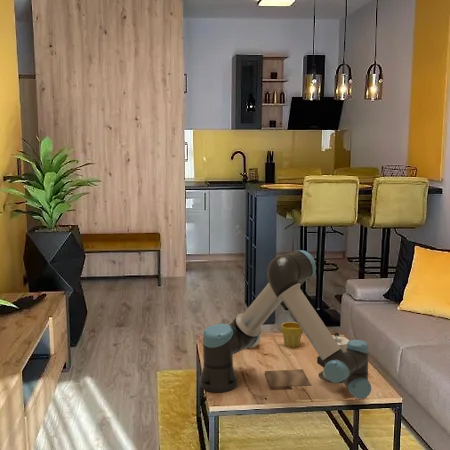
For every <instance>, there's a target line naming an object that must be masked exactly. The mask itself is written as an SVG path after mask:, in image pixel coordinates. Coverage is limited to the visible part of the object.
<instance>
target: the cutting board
mask: <svg viewBox="0 0 450 450" xmlns="http://www.w3.org/2000/svg"><path fill="white" fill-rule="evenodd" d="M264 375H265V378H266V380H267V384H268V386H269V389H270V391H272V390H293V387H307V386H309V387H310V386H312V384H311V381H310V380H309V378H308V377H307V374H306V372H305V371H304V369H302V368H301V369H282V370H281V369H280V370H279V369H277V370H276V369H275V370H265V371H264Z"/></svg>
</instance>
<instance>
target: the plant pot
mask: <svg viewBox="0 0 450 450" xmlns="http://www.w3.org/2000/svg"><path fill="white" fill-rule="evenodd" d="M280 332H281V333H282V336H283V342H284V346H286V347H288V348H298V347H299V346H300V343H301V338H302V334H303V333H304V332H303V330H302V329H301V327H300V326H299V324H298V323H297V321H289V322H288V321H287V322H283V323H281V327H280Z"/></svg>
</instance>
